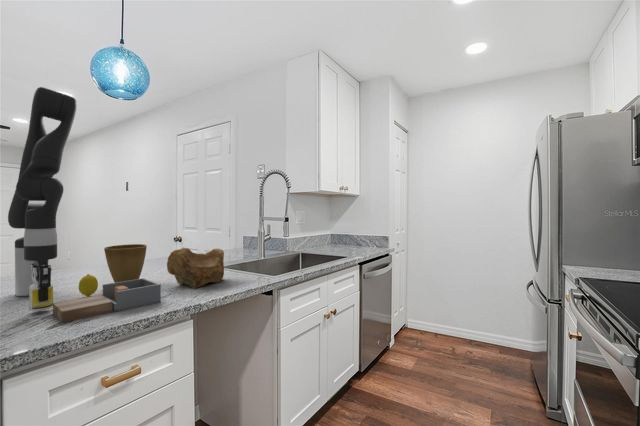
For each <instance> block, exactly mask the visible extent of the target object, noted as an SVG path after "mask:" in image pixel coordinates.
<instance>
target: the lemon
mask: <svg viewBox="0 0 640 426" xmlns="http://www.w3.org/2000/svg"><path fill="white" fill-rule="evenodd" d="M98 285H99V282H98V278H96V276H94V275H91V274H90V273H89V274H86V275H84V276H82V277H81V278H80V280H79V283H78V291H79V293H80V294H81V295H84V296H85V297H90V296H92V295H93V294H95V293H96V292H97V290H98V287H99V286H98Z"/></svg>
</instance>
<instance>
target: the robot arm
mask: <svg viewBox="0 0 640 426" xmlns="http://www.w3.org/2000/svg"><path fill="white" fill-rule="evenodd" d="M31 102H32V103H31V110H30V120H29V125H28V132H27V136H26V141H25V144H24V148H23V152H22V157H21V162H20V166H19V167H20V168H19V171H18V172H19V173H18V179H17V182H16V186H15V190H14V194H13V197H12V200H11V203H10V206H9V210H8V214H7V221H8V225H9V226H10V227H11V228H13V229H19V230H20V229H24V232H23V233H24V234H23V237H20V238H17V239H16V240H14V295H15V297H29V287H30V286H31V285H32V284H33V281H32V278H33V277H35V282H37V285H38V287H37V288H38V301H39V302H43V301H47V300H48V288H49V287H50V286H51V283H52V280H51V279H52V278H51V277H52V265H51V264H50V260H54V259H56V258H57V257H58V232H57V212H58V209H59V206H60V202H61V200H62V197H63V193H64V185H63V182H61V181H60V179H58V178H54V175H57V174H58V173H59V172H60V170H61V164H62V159H63V152H64V150H65V146H66V143H67V140H68V138H69V136H70V133H71V130H72V126H73V124H74V120H75V117H76V113H77V107H78V104H77V103H78V102H77V99H75V98H74V97H73V96H71V95H67V94H65V93H62V92H58V91H55V90H53V89H50V88H47V87H44V86H43V87H42V86H40V87H37V88H36V90H35V91H34V94H33V98H32V101H31ZM44 118H47V119H51V120H53V121H59V122H60V123H59V124H58V126H57V127H56V128H55V129H54V130H52V131H50V132H49V133H47V131H46V128H45V124H44ZM30 201H31V203H30ZM38 201H39V202H40V201H41V202H42V201H43V202H45V203H39V202H38ZM33 202H34V203H33ZM36 202H37V203H36ZM42 281H46V283H43V284H42Z"/></svg>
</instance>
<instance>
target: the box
mask: <svg viewBox="0 0 640 426" xmlns="http://www.w3.org/2000/svg"><path fill="white" fill-rule="evenodd" d="M117 286H125V287H128V288H129V289H128V290H122V291H116V297H117V303H116V302H115V287H117ZM161 289H162V285H161V284H160V283H158V282H155V281H153V280H150V279H147V278H139V279H136V280H129V281H123V282H117V283H115V282H112V283H111V282H110V283H105V284H102V295H101V294H100V295H101V296H103V297H105V298H107V299H108V300H110V301H112V302H113V312H114V313H116V312H121V311H126V310H131V309H134V308H140V307H144V306H148V305H153V304H154V305H155V304H158V303H161V299H162V295H161V294H162V290H161Z"/></svg>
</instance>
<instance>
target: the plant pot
mask: <svg viewBox="0 0 640 426" xmlns="http://www.w3.org/2000/svg"><path fill="white" fill-rule="evenodd" d="M147 247H148V244H141V243H133V244H132V243H131V244H129V243H128V244H119V245H111V246H106V247H104V248H103V249H104V255H105V260H106V264H107V267H108V270H109V273H110V275H111V278H112V280H113V283H117V282H123V281H129V280H136V279H140V277H141V274H142V271H143V267H144V263H145V259H146V255H147Z"/></svg>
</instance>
